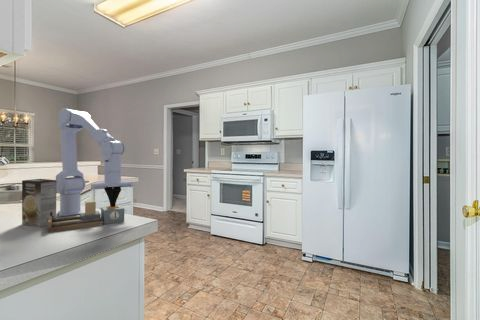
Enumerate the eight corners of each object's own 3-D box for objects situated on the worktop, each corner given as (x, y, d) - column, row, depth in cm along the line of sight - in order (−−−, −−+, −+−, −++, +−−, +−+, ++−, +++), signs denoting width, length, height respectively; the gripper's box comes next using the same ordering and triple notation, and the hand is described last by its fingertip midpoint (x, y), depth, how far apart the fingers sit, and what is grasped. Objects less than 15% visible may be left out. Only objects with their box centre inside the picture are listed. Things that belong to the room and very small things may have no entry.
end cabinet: (100, 219, 98) (101, 207, 97) (120, 217, 102) (120, 205, 102) (104, 224, 92) (104, 210, 92) (124, 221, 96) (124, 208, 96)
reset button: (107, 216, 97) (107, 206, 97) (116, 215, 99) (116, 205, 99) (108, 218, 95) (108, 207, 95) (117, 216, 97) (118, 206, 97)
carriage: (80, 218, 93) (80, 201, 92) (98, 216, 96) (98, 199, 96) (81, 221, 89) (81, 203, 88) (100, 219, 92) (100, 201, 92)
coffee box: (20, 224, 89) (20, 180, 89) (39, 220, 96) (39, 178, 95) (39, 227, 87) (39, 181, 86) (57, 222, 93) (57, 179, 93)
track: (48, 225, 88) (48, 216, 88) (99, 219, 98) (99, 210, 98) (47, 232, 81) (47, 222, 81) (102, 224, 91) (103, 215, 91)
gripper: (92, 173, 89) (92, 210, 89) (135, 171, 98) (135, 206, 98) (90, 171, 94) (90, 207, 95) (130, 170, 103) (130, 203, 104)
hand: (112, 206), depth 97 cm, fingers closed, pressing on reset button
